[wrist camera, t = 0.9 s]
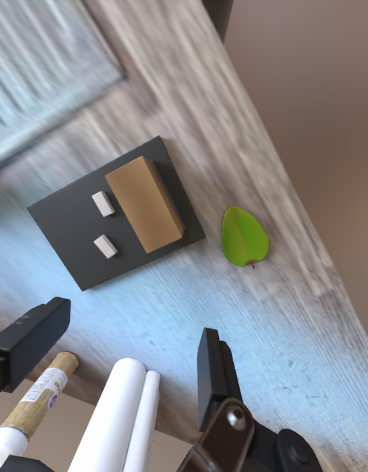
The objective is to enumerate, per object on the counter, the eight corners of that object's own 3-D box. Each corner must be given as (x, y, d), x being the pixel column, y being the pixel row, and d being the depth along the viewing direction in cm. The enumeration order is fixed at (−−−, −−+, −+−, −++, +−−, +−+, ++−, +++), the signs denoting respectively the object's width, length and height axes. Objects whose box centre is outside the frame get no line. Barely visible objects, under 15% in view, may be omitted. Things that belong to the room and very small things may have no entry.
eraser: (154, 161, 25) (142, 152, 19) (186, 227, 27) (184, 238, 21) (122, 177, 25) (101, 174, 20) (155, 241, 27) (146, 255, 22)
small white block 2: (104, 234, 28) (101, 236, 27) (118, 251, 28) (115, 253, 27) (96, 239, 28) (93, 241, 27) (110, 256, 28) (107, 258, 27)
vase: (106, 371, 36) (5, 587, 17) (129, 350, 34) (48, 561, 15) (150, 403, 37) (105, 633, 18) (174, 384, 36) (153, 614, 17)
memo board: (160, 137, 25) (159, 135, 24) (205, 235, 28) (206, 237, 27) (32, 207, 28) (26, 208, 27) (86, 287, 31) (82, 291, 30)
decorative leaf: (212, 258, 29) (212, 261, 28) (226, 204, 27) (227, 204, 26) (260, 270, 29) (261, 272, 28) (280, 215, 26) (282, 216, 25)
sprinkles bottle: (81, 368, 36) (19, 471, 23) (59, 369, 36) (-15, 471, 23) (76, 349, 35) (8, 446, 22) (53, 350, 35) (-28, 446, 22)
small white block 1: (103, 191, 26) (100, 191, 25) (115, 211, 27) (112, 212, 26) (95, 195, 26) (91, 196, 25) (106, 216, 27) (103, 217, 26)
